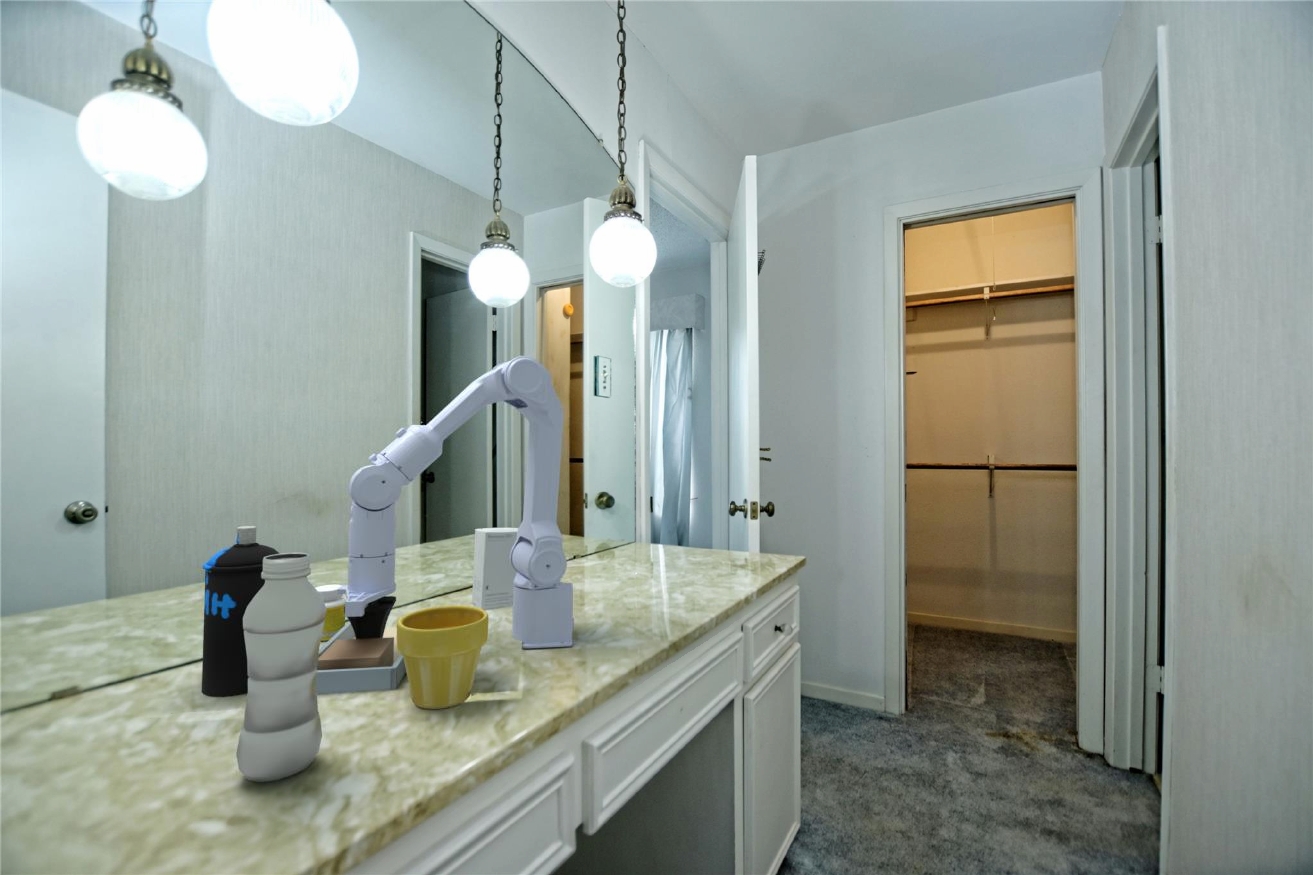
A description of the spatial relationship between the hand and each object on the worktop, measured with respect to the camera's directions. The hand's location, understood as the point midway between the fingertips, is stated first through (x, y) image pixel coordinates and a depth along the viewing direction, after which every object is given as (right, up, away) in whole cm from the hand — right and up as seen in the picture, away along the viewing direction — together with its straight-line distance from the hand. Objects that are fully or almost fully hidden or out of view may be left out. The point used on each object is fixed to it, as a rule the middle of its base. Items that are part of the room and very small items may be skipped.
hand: (369, 654), depth 76 cm
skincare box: (+9, -3, +28) cm, 30 cm away
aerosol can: (-12, -2, -7) cm, 14 cm away
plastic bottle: (+4, -2, -24) cm, 24 cm away
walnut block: (+1, -1, -5) cm, 5 cm away
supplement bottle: (-11, -2, +9) cm, 14 cm away
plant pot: (+13, -2, -8) cm, 15 cm away
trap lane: (+2, -2, +3) cm, 4 cm away
